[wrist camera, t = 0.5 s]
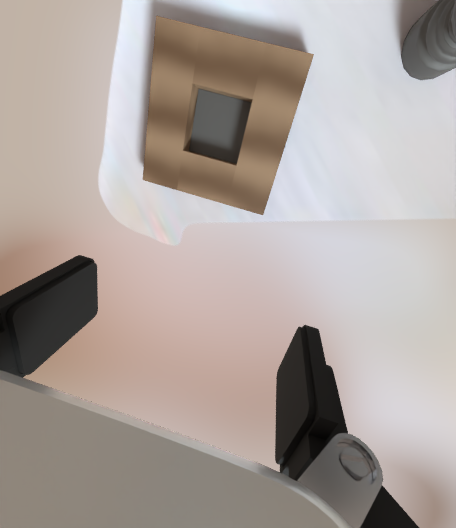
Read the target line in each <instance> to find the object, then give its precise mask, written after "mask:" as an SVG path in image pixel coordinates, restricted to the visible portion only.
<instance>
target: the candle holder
mask: <svg viewBox="0 0 456 528" xmlns="http://www.w3.org/2000/svg"><path fill="white" fill-rule="evenodd" d="M401 57H402V62H403V67H404V69H405V70H406V71H407V73H408V74H409V75H410V76H411V77H414V78H416V79H419V80H426V79H433V78H436V77H438V76H440V75H442V74H444V73H446V72H448V71H450V70H452V69H454V68H456V0H438V1H437V2H436V3H435V4H434V5H433V6H432V7H431V8H430V9H429V10H428V11H427V12H426V13H425V14H424V15H423V16H422V17H421V18H420V19H419V20H418V21H417V22H416V23H415V24H414V25H413V27H412V28H411V29H410V31H409V33H408V35H407V37H406V39H405V41H404V44H403V50H402V55H401Z"/></svg>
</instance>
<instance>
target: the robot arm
mask: <svg viewBox="0 0 456 528" xmlns="http://www.w3.org/2000/svg"><path fill="white" fill-rule="evenodd" d="M97 311H98V297H97V265H96V264H95V263H94V260H93V259H91V258H87V257H84V256H81V255H79V256H76V257H74V258H73V259H70V260H68V261H66V262H65V263H63V264H61V265H59V266H57V267H55V268H53V269H51V270H49V271H47V272H45V273H43V274H41V275H40V276H38V277H36V278H34V279H32V280H30V281H28V282H26V283H24V284H22V285H20V286H18V287H16V288H15V289H13V290H11V291H9V292H7V293H5V294H3V295H2V296H0V528H419V527H418V526H417V525H416V524H415V522H414V521H413V520H412V519H411V518H410V517H409V516H408V515H407V513H406V512H405V511H404V510H403V509H402V508H401V507H400V506H399V504H398V503H397V502H396V501H395V500H394V499H393V497H392V496H391V495H390V494H389V493H388V492H387V490H386V489H385V488H384V487H383V486H382V482H383V476H382V470H381V467H380V465H379V462H378V460H377V458H376V457H375V455H374V453H373V452H372V451H371V450H370V449H369V448H368V446H367V445H366V444H365V443H363V442H362V441H361V440H360V439H359V438H356V437H355V436H353V435H351V434H348V431H347V427H346V424H345V419H344V415H343V410H342V406H341V402H340V398H339V394H338V389H337V385H336V381H335V377H334V373H333V370H332V368H331V366H328V365H326V361H325V357H324V352H323V347H322V343H321V338H320V333H319V330H318V329H316V328H313V327H310V326H307V325H304V326H303V327H298V329H297V331H296V333H295V335H294V337H293V339H292V342H291V343H290V346H289V348H288V350H287V352H286V354H285V356H284V358H283V360H282V362H281V365H280V367H279V369H278V372H277V386H276V389H277V390H276V449H275V450H276V451H275V460H276V463H277V464H280V472H277V471H275V470H273V469H271V468H268V467H266V466H264V465H262V464H260V463H257V462H254V461H252V460H249V459H247V458H244V457H241V456H239V455H236V454H233V453H231V452H228V451H226V450H223V449H220V448H218V447H215V446H213V445H210V444H207V443H204V442H201V441H199V440H196V439H193V438H190V437H188V436H185V435H182V434H179V433H177V432H173V431H171V430H168V429H166V428H163V427H160V426H157V425H154V424H152V423H149V422H146V421H144V420H141V419H138V418H135V417H132V416H130V415H126V414H124V413H121V412H118V411H116V410H113V409H110V408H107V407H104V406H101V405H99V404H96V403H93V402H90V401H87V400H84V399H82V398H79V397H76V396H73V395H71V394H67V393H65V392H62V391H59V390H56V389H53V388H50V387H48V386H45V385H42V384H39V383H36V382H33V381H30V380H27V379H25V378H23V377H24V376H25V375H29V374H31V373H32V372H34V371H35V370H36V369H37V368H38V367H39V366H40V365H41V364H43V363H44V362H45V361H46V360H47V359H48V358H49V357H50V356H51V355H52V354H54V353H55V352H56V351H57V350H58V349H59V348H60V347H62V346H63V345H64V344H65V343H66V342H67V341H68V340H69V339H71V337H72V336H74V335H75V334H76V333H77V332H78V331H79V330H80V329H82V328H83V327H84V326H85V325H86V324H87V323H88V322H89V321H91V320H92V319H93V318H94V317H95V315H96V314H97Z"/></svg>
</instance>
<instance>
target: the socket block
mask: <svg viewBox="0 0 456 528" xmlns="http://www.w3.org/2000/svg"><path fill="white" fill-rule="evenodd" d="M313 55H314V54H310V53H306V52H302V51H298V50H294V49H290V48H286V47H282V46H278V45H273V44H269V43H265V42H261V41H257V40H253V39H249V38H245V37H241V36H237V35H233V34H229V33H225V32H221V31H216V30H212V29H208V28H204V27H200V26H196V25H192V24H188V23H184V22H180V21H176V20H172V19H168V18H164V17H159V16H156V24H155V36H154V49H153V61H152V73H151V85H150V97H149V110H148V122H147V134H146V146H145V158H144V170H143V180H145V181H148V182H152V183H155V184H159V185H162V186H165V187H169V188H172V189H176V190H179V191H182V192H186V193H189V194H193V195H196V196H199V197H203V198H206V199H210V200H213V201H216V202H220V203H223V204H227V205H230V206H233V207H237V208H240V209H244V210H247V211H250V212H254V213H257V214H261V215H263V214H264V210H265V207H266V204H267V201H268V198H269V195H270V191H271V188H272V185H273V182H274V179H275V176H276V172H277V169H278V166H279V163H280V160H281V157H282V154H283V150H284V147H285V144H286V141H287V138H288V135H289V131H290V128H291V125H292V122H293V119H294V116H295V112H296V109H297V106H298V103H299V100H300V97H301V93H302V90H303V87H304V84H305V81H306V78H307V74H308V71H309V68H310V65H311V62H312V59H313ZM196 152H197V153H196ZM228 161H229V162H228Z"/></svg>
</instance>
